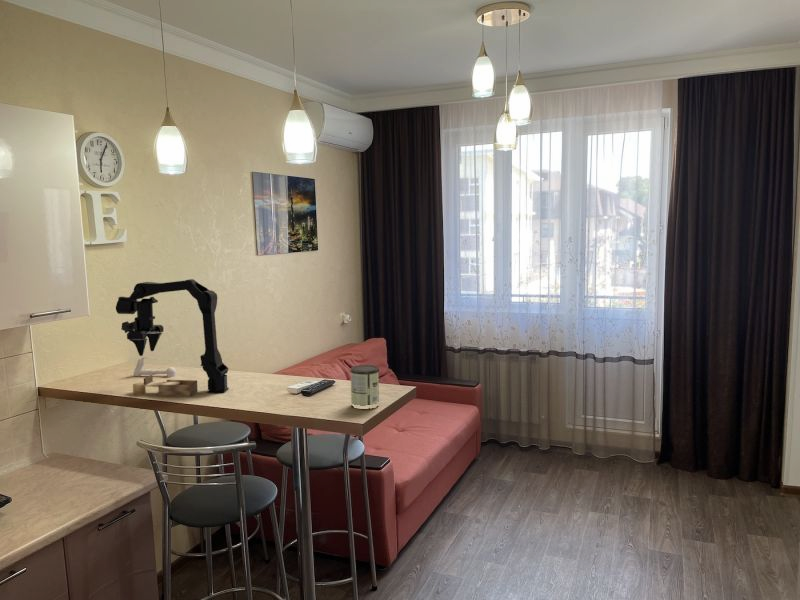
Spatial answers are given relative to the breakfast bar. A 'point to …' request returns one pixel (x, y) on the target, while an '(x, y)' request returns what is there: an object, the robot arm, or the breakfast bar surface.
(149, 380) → the lid
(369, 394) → the coffee can
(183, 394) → the box
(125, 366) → the breakfast bar surface
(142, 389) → the tan wooden cube
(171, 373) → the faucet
